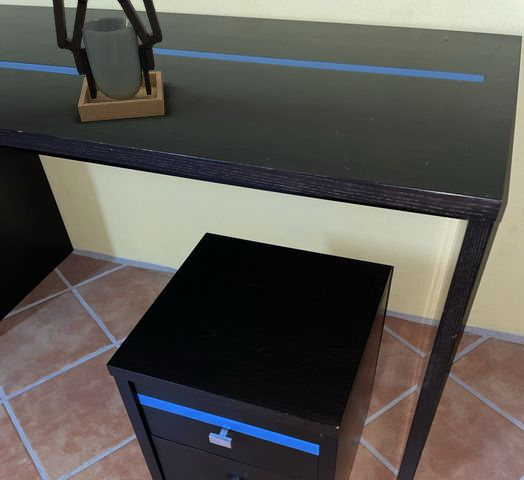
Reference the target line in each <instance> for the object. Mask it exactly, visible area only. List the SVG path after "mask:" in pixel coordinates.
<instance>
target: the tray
mask: <svg viewBox="0 0 524 480" xmlns="http://www.w3.org/2000/svg"><path fill="white" fill-rule="evenodd" d="M149 76H150V82H151V89H152V95H147V93H146V87H145V81H144V75H143V81H142V86H141V89H140V91H139V92H138V93H137V94H136V95H135V96H133V97H131V98H128V99H123V100H116V99H111V98H108V97H106V96H104V95H103V94H102V93H101V92H100V90H99V89H98V87H97V85H96V83H95V85H96V89H97V97H96V99H91V96H90V92H89V87H88V83H87V79H86V76H85V77H84V79H83V82H82V86H81V92H80V94H79V95H80V96H79V99H78V104H77V109H78V113H79V116H80V120H81V122H94V121H95V122H97V121H107V120H108V121H109V120H119V119H131V118H143V117H156V116H165V115H166V114H165V97H164V84H163V83H164V82H163V76H162V71H149Z"/></svg>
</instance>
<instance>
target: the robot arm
mask: <svg viewBox="0 0 524 480" xmlns="http://www.w3.org/2000/svg"><path fill="white" fill-rule="evenodd" d="M116 1H117V2H118V3H119V5H120V7H121V9H122V11H123V12H124V14H125V16H126V18H128V19H129V21H130V23H131V25H132V26H133V28H134V30H135V32H136V33H137V35H138V40H140V42H141V43H139V52H140V58H141V64H142V71H143V75H144V81H145V87H146V93H147V95H152V89H151V82H150V76H149V72H150V71H155V67H156V64H155V63H156V62H155V57H154V50H153V48H154V46H155V45H157V44H161V43H162V42H163V40H164V39H163V30H162V28H161V27H162V26H161V24H160V21H159V18H158V14H157V11H156V7H155V3H154V0H142V3H143V6H144V9H145V12H146V16H147V18H148V23H149V26H150V29H151V32H150V33H149V31H148V30H147V28H146V26H145V25H144V23H143V21H142V19H141V18H140V17H141V16H140V15H139V14H138V11H136V8H135V6H134V5H133V3H132V1H131V0H116ZM88 2H89V0H77V3H76V11H75V17H74V24H73V30H72V37H71V38H70V37H68V31H67V30H68V29H67V18H66V9H65V0H52V8H53V18H54V27H55V37H56V44H57V47H58V48H59V49H60V50H67V51H70V52H71V54H72V55H73V59H74V63H75V66H76V71H77V73H78V75H79V76H85V77H86V79H87V83H88V87H89V92H90V96H91V99H96V97H97V89H96V85H95V81H94V78H93V75H92V72H91V69H90V65H89V62H88V58H87V54H86V50H85V47H82V41H83V37H82V28H83V27H84V23H85V21H86V15H87V9H88V4H89V3H88Z"/></svg>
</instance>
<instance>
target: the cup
mask: <svg viewBox="0 0 524 480" xmlns="http://www.w3.org/2000/svg"><path fill="white" fill-rule="evenodd" d="M82 41H83V46H84V48H85V50H86V54H87V58H88V62H89V65H90V69H91V72H92V75H93V78H94V81H95V83H96V85H97V87H98V89H99V90H100V92H101V93H102V94H103V95H104V96H106V97H108V98H111V99H116V100H123V99H128V98H131V97H133V96H135V95H136V94H137V93H138V92H139V91H140V89H141V86H142V81H143V69H142V64H141V58H140V52H139V44H140V42H139V37H138V35H137V33H136V32H135V30H134V28H133V26H132V25H131V23H130V21H129V19H128V18H127V17H122V16H106V17H105V16H104V17H97V18H93V19H90V20H88V21H86V22H84V27H83V28H82Z"/></svg>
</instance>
